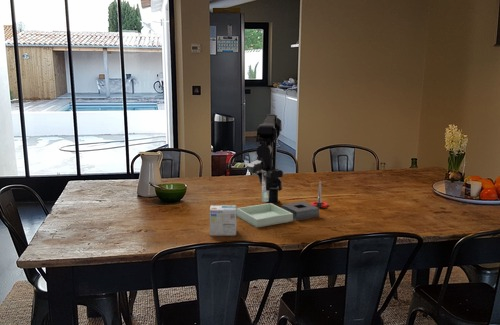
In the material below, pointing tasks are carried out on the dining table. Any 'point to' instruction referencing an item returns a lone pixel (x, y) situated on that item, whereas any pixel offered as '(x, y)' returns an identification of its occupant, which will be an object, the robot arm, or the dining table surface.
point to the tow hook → (319, 200)
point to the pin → (264, 190)
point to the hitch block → (301, 210)
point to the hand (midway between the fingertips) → (265, 189)
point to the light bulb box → (223, 220)
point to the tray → (264, 215)
